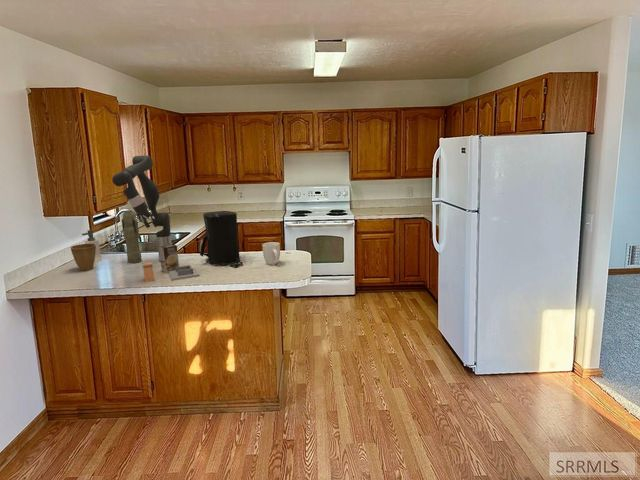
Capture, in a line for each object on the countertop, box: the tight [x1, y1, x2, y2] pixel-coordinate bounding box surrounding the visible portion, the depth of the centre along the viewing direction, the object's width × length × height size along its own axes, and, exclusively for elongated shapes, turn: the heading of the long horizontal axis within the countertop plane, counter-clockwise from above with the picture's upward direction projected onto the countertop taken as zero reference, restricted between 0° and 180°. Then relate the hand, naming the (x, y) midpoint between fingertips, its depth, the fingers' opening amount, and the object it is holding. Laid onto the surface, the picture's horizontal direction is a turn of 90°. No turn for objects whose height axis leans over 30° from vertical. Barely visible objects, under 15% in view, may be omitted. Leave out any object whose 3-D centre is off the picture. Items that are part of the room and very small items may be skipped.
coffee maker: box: [199, 210, 244, 268], centre depth 308 cm, size 23×32×34 cm
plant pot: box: [70, 243, 96, 272], centre depth 308 cm, size 15×15×16 cm
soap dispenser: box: [81, 229, 102, 263], centre depth 328 cm, size 6×9×22 cm
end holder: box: [168, 264, 200, 281], centre depth 287 cm, size 18×16×4 cm
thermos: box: [121, 210, 142, 264], centre depth 320 cm, size 9×12×35 cm
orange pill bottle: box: [142, 261, 155, 282], centre depth 279 cm, size 5×5×10 cm
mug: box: [262, 241, 281, 266], centre depth 300 cm, size 15×11×13 cm
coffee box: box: [159, 244, 180, 274], centre depth 296 cm, size 9×6×16 cm
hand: (152, 226), depth 278 cm, fingers open, 8 cm apart
